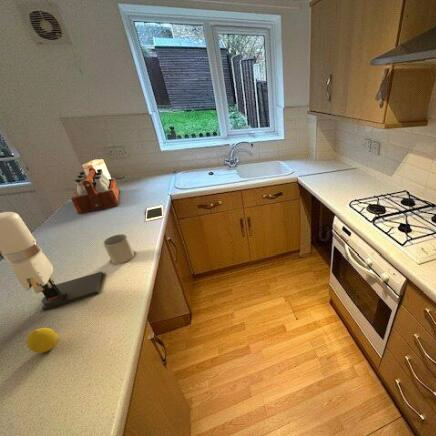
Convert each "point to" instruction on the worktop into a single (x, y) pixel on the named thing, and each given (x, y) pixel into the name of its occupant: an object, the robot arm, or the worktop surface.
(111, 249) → the cup
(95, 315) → the worktop surface
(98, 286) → the scale
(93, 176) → the milk bottle holder
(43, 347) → the lemon
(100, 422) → the worktop surface
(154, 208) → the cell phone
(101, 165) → the coffeecake box
